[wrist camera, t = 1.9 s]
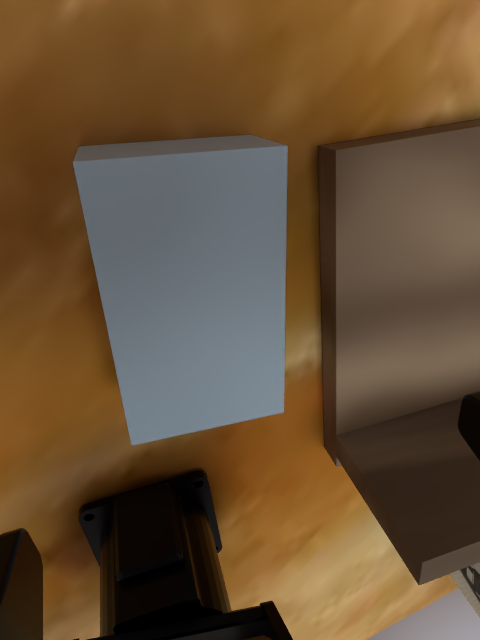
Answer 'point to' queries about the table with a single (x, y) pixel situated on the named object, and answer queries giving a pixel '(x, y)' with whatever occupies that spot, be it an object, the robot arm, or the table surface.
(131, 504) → the robot arm
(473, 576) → the hard drive box
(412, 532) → the walnut shelf
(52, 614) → the table surface
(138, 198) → the grey rectangular block
